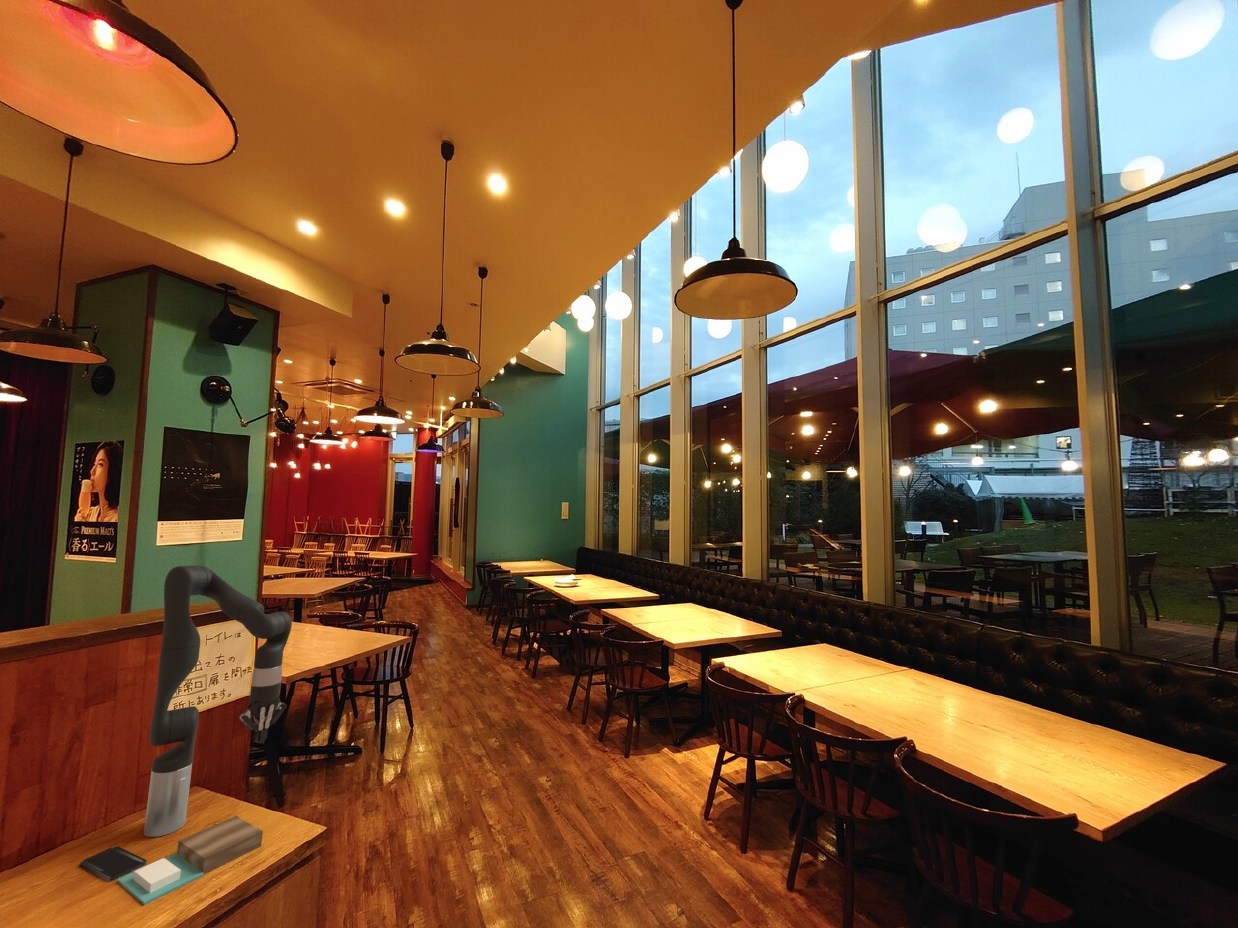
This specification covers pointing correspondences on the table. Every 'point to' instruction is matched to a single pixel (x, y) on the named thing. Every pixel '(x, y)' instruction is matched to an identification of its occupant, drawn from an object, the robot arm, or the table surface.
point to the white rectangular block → (157, 875)
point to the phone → (113, 863)
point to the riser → (220, 844)
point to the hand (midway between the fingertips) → (260, 741)
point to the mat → (186, 876)
